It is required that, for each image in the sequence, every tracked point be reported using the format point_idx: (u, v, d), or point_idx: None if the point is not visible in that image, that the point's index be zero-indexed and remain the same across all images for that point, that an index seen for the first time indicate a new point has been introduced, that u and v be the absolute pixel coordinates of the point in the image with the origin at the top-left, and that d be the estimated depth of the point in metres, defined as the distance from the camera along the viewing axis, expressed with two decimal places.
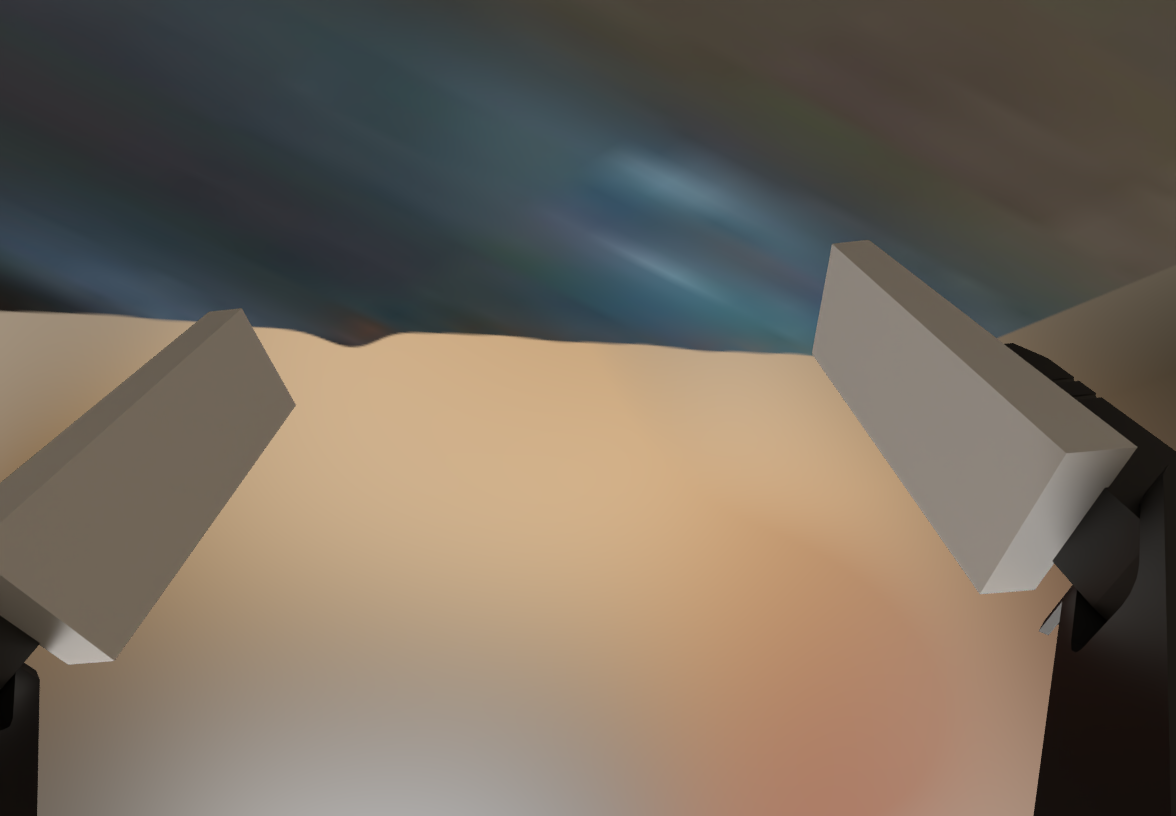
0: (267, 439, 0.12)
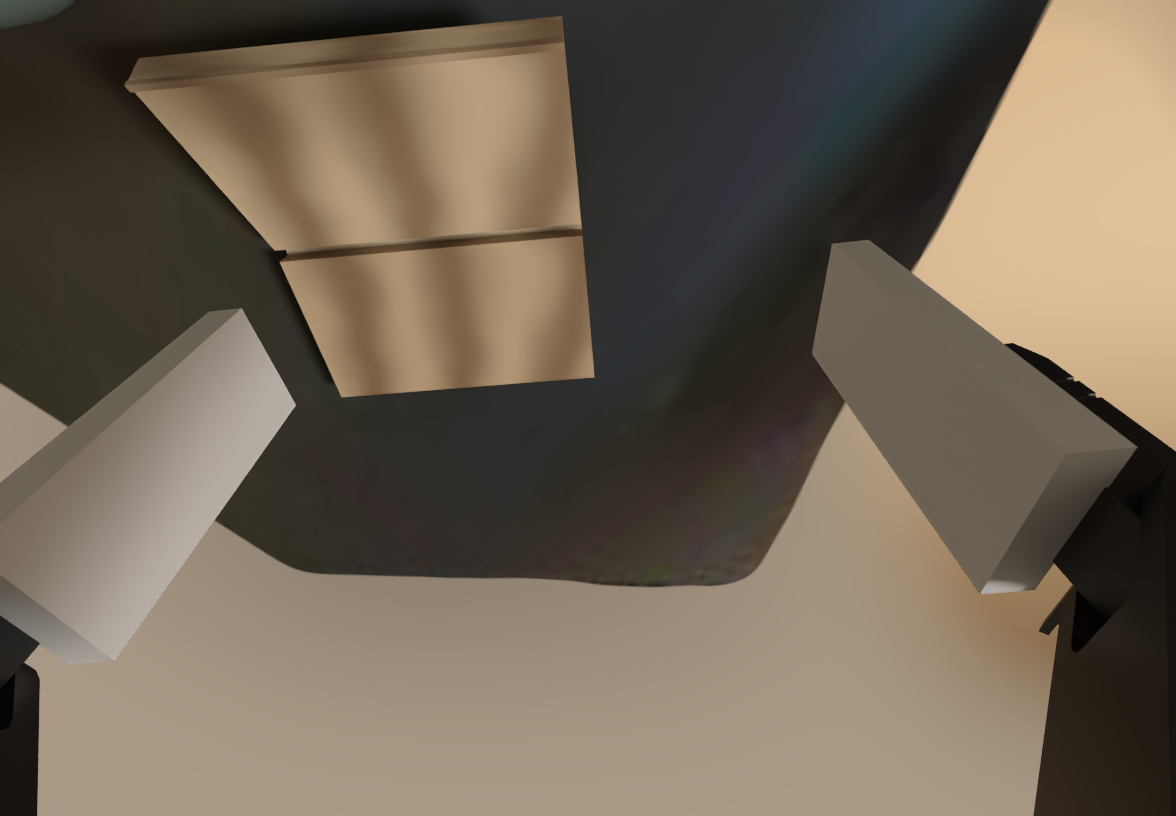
0: (267, 439, 0.12)
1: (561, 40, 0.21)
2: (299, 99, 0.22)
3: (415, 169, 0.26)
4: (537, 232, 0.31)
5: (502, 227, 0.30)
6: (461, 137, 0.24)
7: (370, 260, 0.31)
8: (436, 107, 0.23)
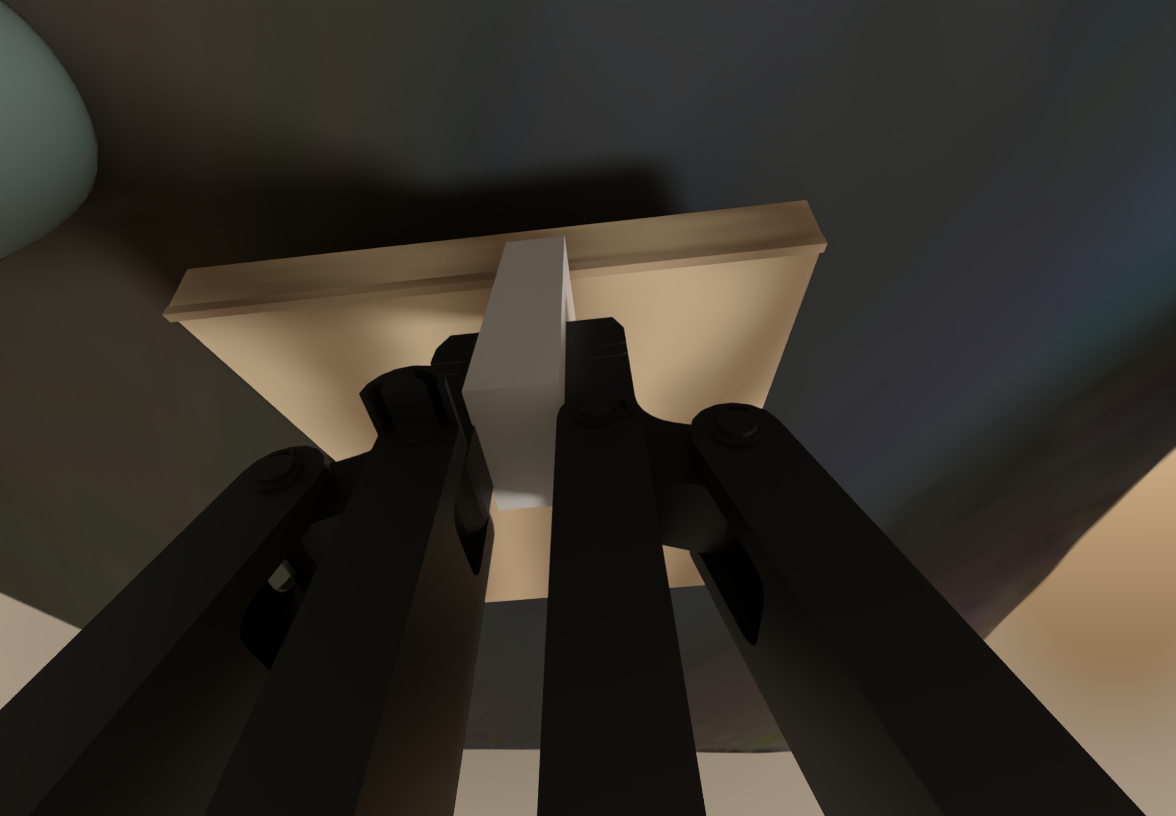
0: None
1: (822, 240, 0.14)
2: (412, 319, 0.15)
3: None
4: None
5: None
6: (628, 350, 0.17)
7: None
8: None
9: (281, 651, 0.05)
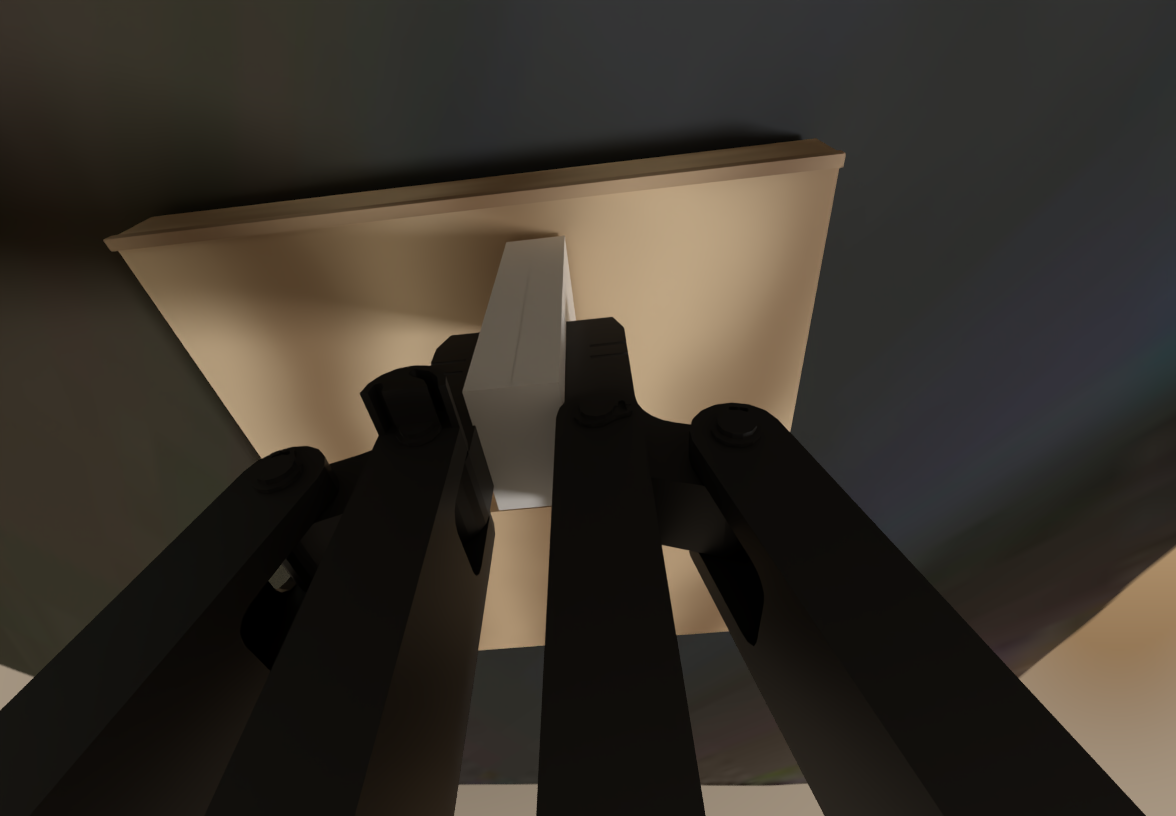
0: None
1: (839, 152, 0.12)
2: (381, 261, 0.14)
3: None
4: None
5: None
6: (628, 321, 0.15)
7: None
8: (600, 271, 0.14)
9: (282, 651, 0.05)
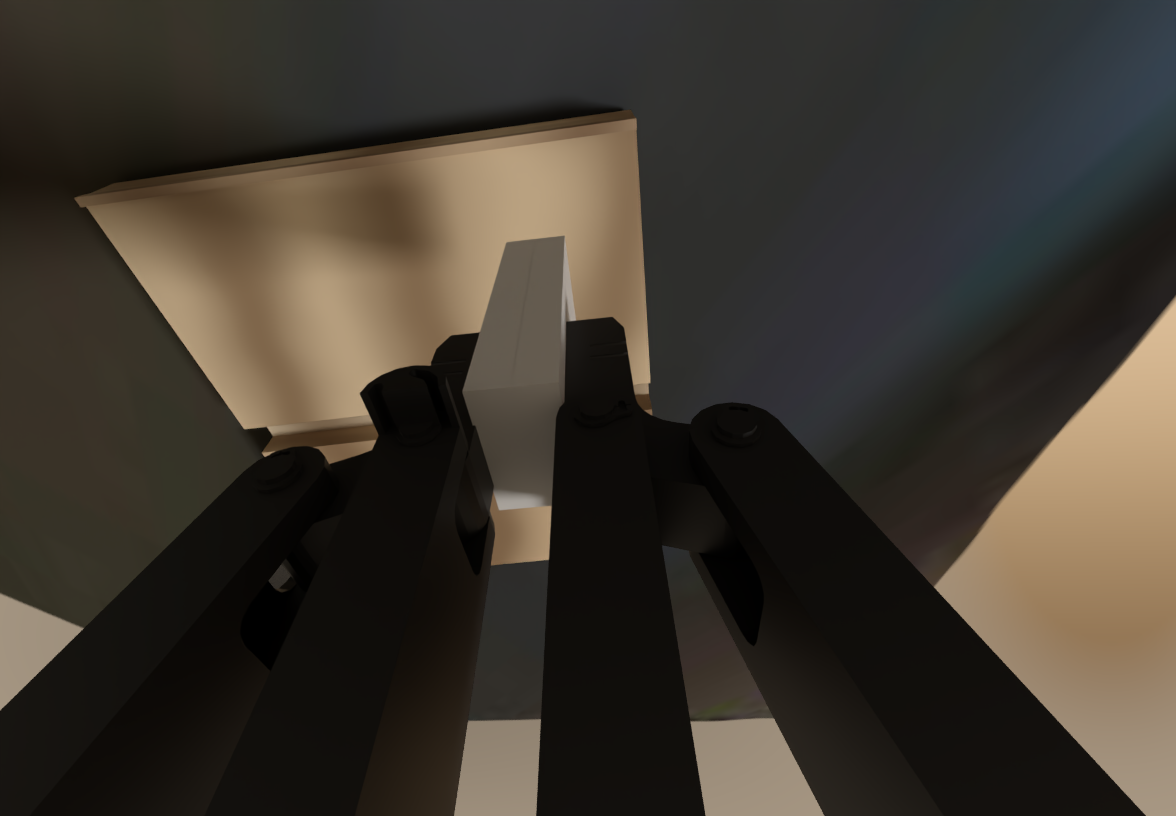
0: None
1: (633, 118, 0.16)
2: (291, 212, 0.17)
3: (433, 307, 0.20)
4: None
5: None
6: (495, 260, 0.18)
7: None
8: (465, 218, 0.18)
9: (282, 651, 0.05)
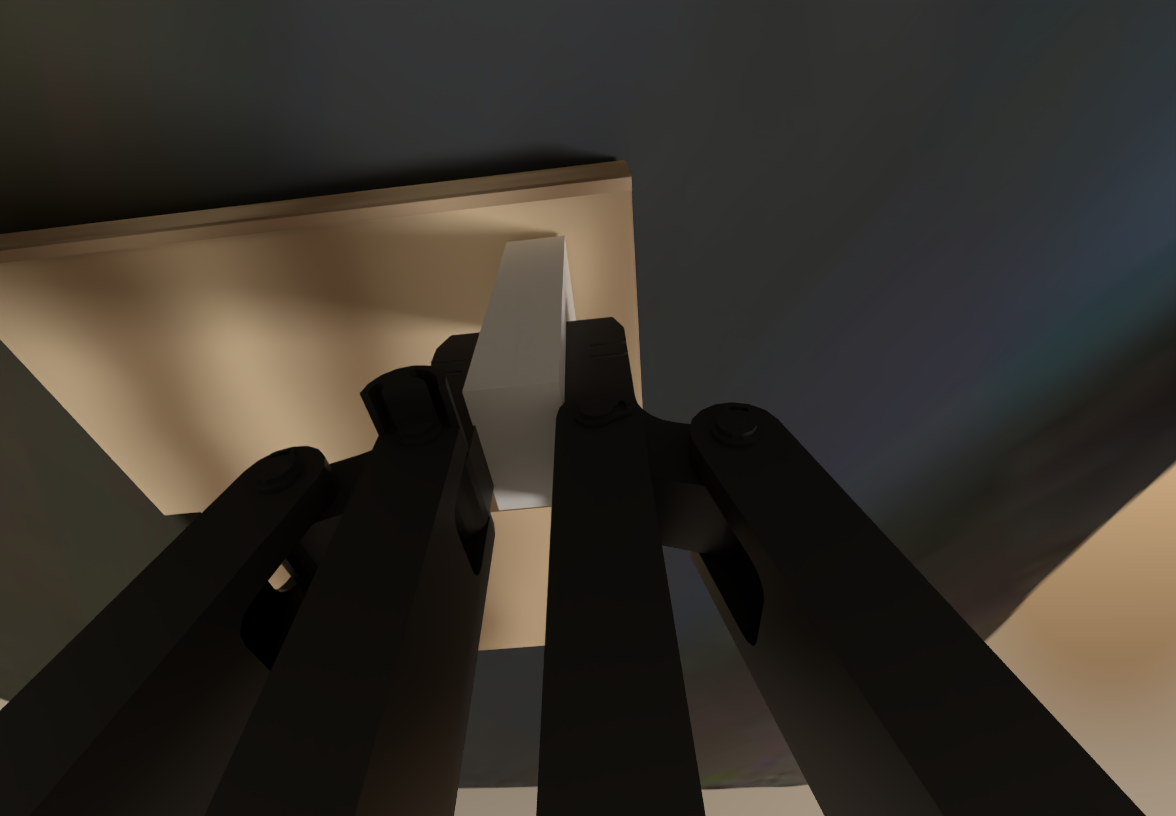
0: None
1: (627, 175, 0.12)
2: (198, 280, 0.14)
3: None
4: None
5: None
6: None
7: None
8: (418, 289, 0.14)
9: (281, 651, 0.05)
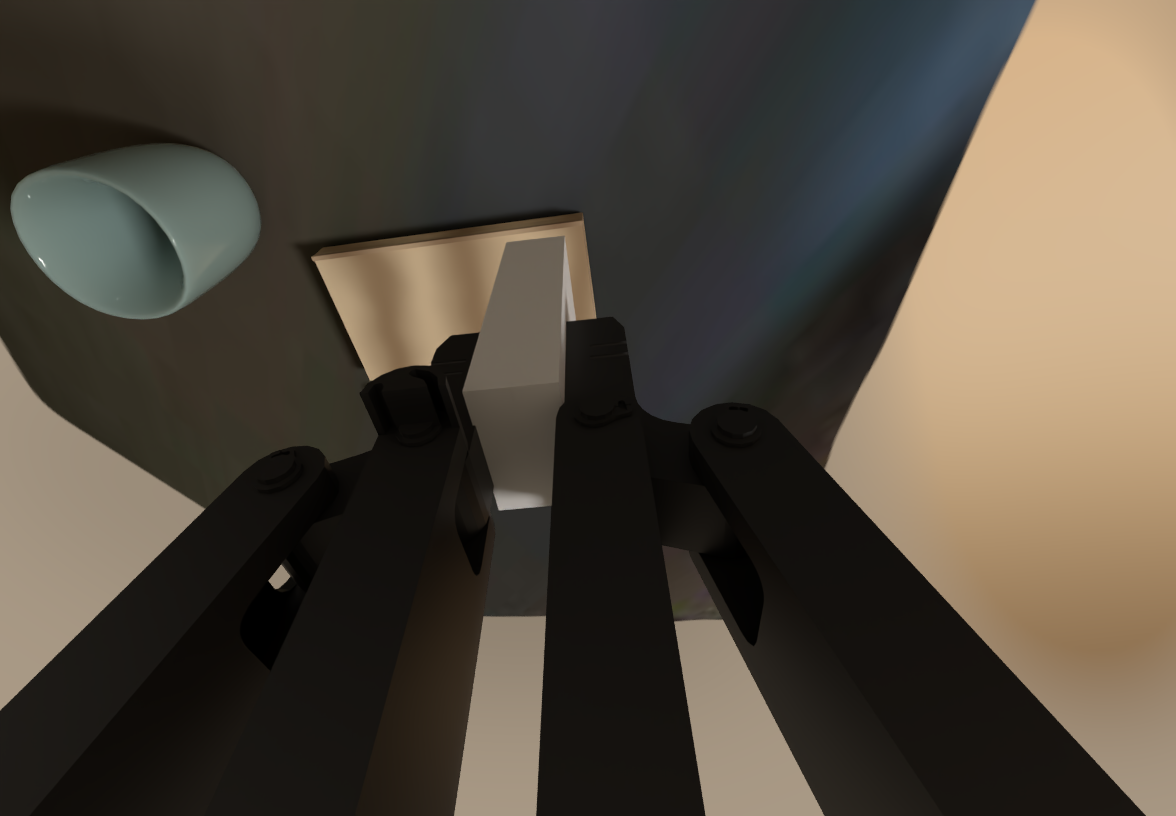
0: None
1: (581, 220, 0.33)
2: (414, 263, 0.35)
3: (481, 311, 0.37)
4: None
5: None
6: None
7: None
8: None
9: (281, 651, 0.05)
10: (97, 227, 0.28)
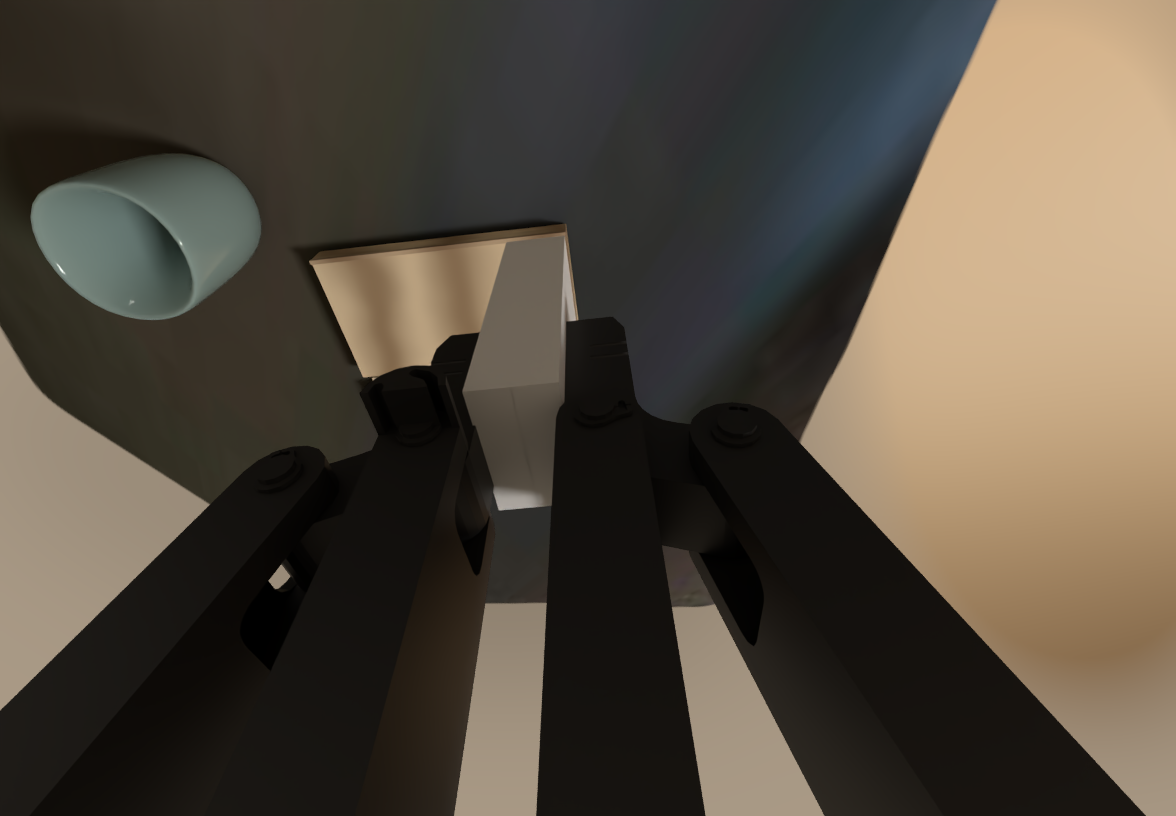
0: None
1: (564, 231, 0.35)
2: (406, 268, 0.37)
3: (470, 313, 0.39)
4: None
5: None
6: None
7: None
8: (488, 272, 0.37)
9: (281, 651, 0.05)
10: (108, 233, 0.30)
